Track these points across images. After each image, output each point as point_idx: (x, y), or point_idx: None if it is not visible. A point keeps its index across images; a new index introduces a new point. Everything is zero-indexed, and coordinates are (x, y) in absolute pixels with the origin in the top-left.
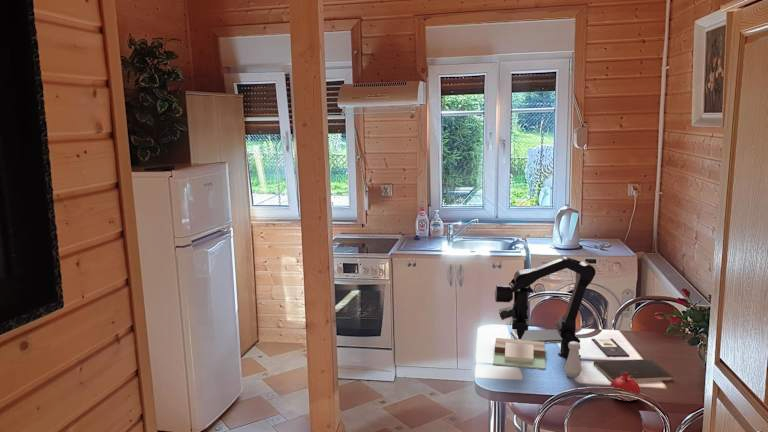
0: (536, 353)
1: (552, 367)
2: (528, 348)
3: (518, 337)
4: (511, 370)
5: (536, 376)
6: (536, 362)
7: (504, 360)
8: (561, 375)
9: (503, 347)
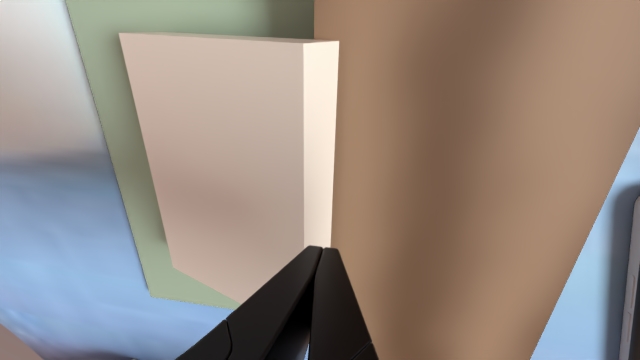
0: None
1: (197, 324)
2: (253, 279)
3: (292, 264)
4: (34, 89)
5: (43, 234)
6: None
7: (155, 29)
8: (121, 338)
9: (318, 9)
